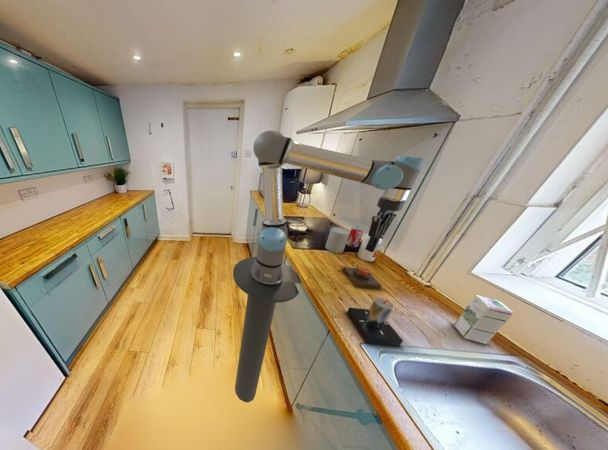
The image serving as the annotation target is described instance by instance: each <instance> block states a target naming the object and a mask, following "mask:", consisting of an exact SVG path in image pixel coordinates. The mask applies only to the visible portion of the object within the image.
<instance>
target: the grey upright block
mask: <svg viewBox="0 0 608 450" xmlns="http://www.w3.org/2000/svg"><path fill="white" fill-rule="evenodd" d="M368 309H369V311H368V313H367V315H366V317H365V320H366V322H367V323H368V324H369V325H370V326H372V327H374V328H377V329H382V328H383V327H384V325H385V323H386V321H387V322H388V319H389V318H390V316H391V314H392V313H393V311H394V309H395V306H394V304H393V303H392V302H391V301H390V300H389V299H385V298H383V297H375V298H374V300H373V301H372V303H371V305H370V307H369V308H368Z"/></svg>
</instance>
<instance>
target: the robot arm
mask: <svg viewBox="0 0 608 450" xmlns="http://www.w3.org/2000/svg"><path fill="white" fill-rule="evenodd" d="M252 147H253V149H252V150H253V153H254V156H255V157H256V158H257V163H258V167H259V168H260V169H261V173H262V174H261V175H262V189H263V190H262V191H263V207H264V217H263V219H262V220H261V226H262V227H261V228H262V230H260V232H259V235H258V244H257V250H256V256H255V257H256V260H255V262H254V264H253V265H252V267H251V270H250V275H251V277H252V278H253V279H254V280H255V281H256V282H258V283H260V284H262V285H266V286H276V285H278V284H280V283H281V282H282V279H283V272H282V267H281V264H282V263H283V259H284V255H285V249H286V246H287V243H288V236H287V235H288V233H289V232H288V226H287V218H286V217H285V216H284V201H283V166H284V165H287V164H288V165H292V166H295V167H299V168H303V169H307V170H311V171H315V172H319V173H322V174H325V175H326V174H327V175H330V176H334V177H338V178H341V179H345V180H350V181H353V182H357V183H360V184H365V185H368V186H372V187H374V188H375V189H378V190H382V192H381V194H380V197H379V199H378V201H377V203H376V207H378V208H379V210H378V211H377V213H376V215H372V217H371V223H370V226H369V230H368V233H369V234H368V233H367V234H368V236H370V239H369V241H368V244H367V246H366V248H365V250H368V251H370V252H374V250H375V248H376V246H377V244H378V241H379V239H380V238H381V239H382V240H383V239H384V236H385V235H386V233H387V231H388V229H389V228H390V226H391V225H392V223H393V222H394V220H395V219H396V217H397V213H396V212H400V211H402V209H403V208H404V205H405V203H406V202H405V201H407V199H408V197H409V195H410V194H411V191H412V188H413V186H414V184H415V182H416V180H417V178H418V176H419V174H420V173H421V170H422V168H423V165H424V162H425V159H424V158H423V157H419V156H409V155H398V156H397V157H396V158H395V159H394V160H390V161H389V160H379V159H377V160H376V159H369V158H364V157H360V156H355V155H351V154H346V153H343V152H338V151H335V150H330V149H325V148H322V147H321V148H320V147H316V146H313V145H309V144H304V143H300V142H296V141H295V140H294V139H293V138H292V137H288V136H284V135H283V134H282V133H281V132H279V131H277V130H265V131H263V132H261V133H259V135H258V136H257V137H256V138H255V140H254V142H253V146H252Z"/></svg>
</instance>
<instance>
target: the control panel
mask: <svg viewBox="0 0 608 450" xmlns="http://www.w3.org/2000/svg"><path fill="white" fill-rule="evenodd" d="M369 309H370V308H368V309H367V308H358V307H348V309H347V312H346V314H347V316H348V317H349V319H350V320H351V322H352V324H353V325H354V327H355V328H356V330H357V331H358V333H359V335H360V336H361V338H362V339H363V341H364V342H365V344H370V345H378V346H387V347H388V346H389V347H397V348H400V347H401V345H402V343H403V342H404V340H403V339H402V337H401V336H400V335H399V333H398V332H397V331H396V330H395V329H394V328H393V327H392V326H391V324H390V323H389V322H388V320H387V321H386V323H385V325H384V327H383V328H382V329H377V328H374V327H372V326H370V325H369V324H368V323H367V322H366V320H365V317H366V315H367V313H368V311H369Z"/></svg>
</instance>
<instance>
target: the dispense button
mask: <svg viewBox="0 0 608 450" xmlns="http://www.w3.org/2000/svg"><path fill="white" fill-rule="evenodd" d="M358 268H359V269H358V271H357V272H358V273H359V274H361V275H364V276H367V275H368V273H369V272H370V269H368V268H366V267H363V266H359V267H358Z"/></svg>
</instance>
